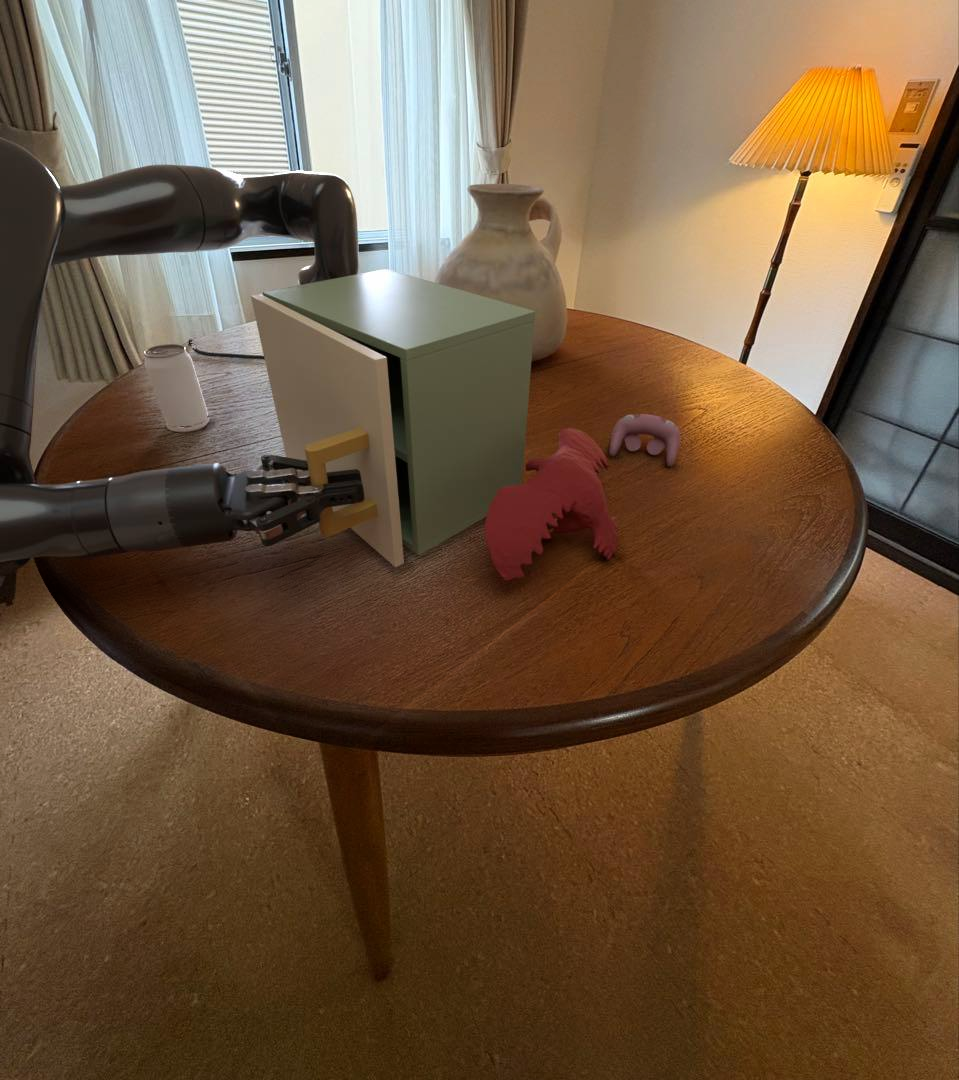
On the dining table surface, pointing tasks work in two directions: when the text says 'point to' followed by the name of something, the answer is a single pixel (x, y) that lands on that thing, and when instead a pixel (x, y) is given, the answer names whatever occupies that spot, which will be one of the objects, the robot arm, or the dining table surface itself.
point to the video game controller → (648, 425)
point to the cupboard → (437, 388)
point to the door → (335, 418)
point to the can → (176, 387)
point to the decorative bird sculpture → (551, 505)
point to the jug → (513, 259)
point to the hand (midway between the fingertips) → (361, 485)
